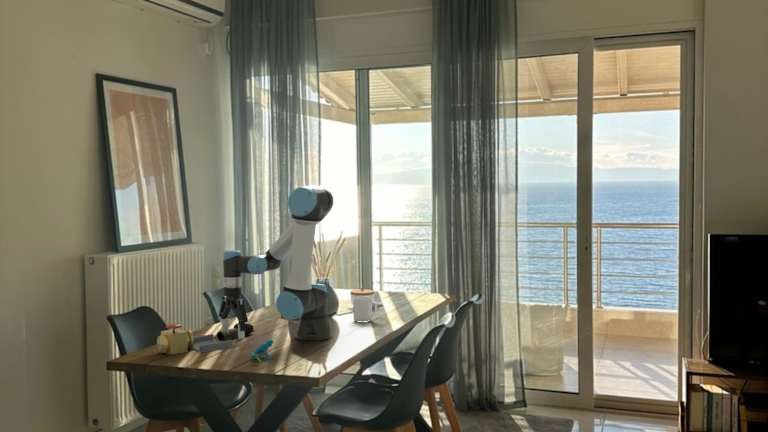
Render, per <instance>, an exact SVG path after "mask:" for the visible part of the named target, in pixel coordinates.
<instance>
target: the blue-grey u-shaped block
mask: <svg viewBox="0 0 768 432" xmlns="http://www.w3.org/2000/svg"><path fill="white" fill-rule="evenodd" d="M228 348H234V345H233V339H230V340H227V341H219V340H218V339H215V338H214V333H213V334H212V333H210V334H205V335H199V336H194V347H193V348H192V349H193V351H195V350H196V352H198V351H199V353H202V352H203V353H208V352H212V351H217V350H219V351H220V350H222V349H223V350H225V349H228ZM192 349H191V350H192Z"/></svg>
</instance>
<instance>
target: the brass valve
mask: <svg viewBox="0 0 768 432" xmlns="http://www.w3.org/2000/svg"><path fill="white" fill-rule="evenodd" d="M165 328H166V329H168V330H161V331H160V335H158V336H157V338H156V339H157V340H156V347H157V350H158V351H159V353H161V354H166V353H167V354H166V355H169V354H170V355H169V356H173V355H172V354H175V355H179V354H178V353H181V354H184V353H183V352H186V353H188V352H189V350H192V348H193V347H194V337H195V335H194V333H193V331H192V330H191V329H185V330H183V329H180V328H183V324H182V323H179V322H178V323H177V322H176V323H168V324H165Z"/></svg>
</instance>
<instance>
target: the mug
mask: <svg viewBox="0 0 768 432" xmlns="http://www.w3.org/2000/svg"><path fill="white" fill-rule="evenodd" d="M373 304H374V313H373ZM352 306H353V320H354V321H355V322H356V321H368V320H371V319H372V320H373V317H375V316H376V315H377V313H378V312H377V311H378V302H376V301H375V300H373V302H372V297H366V296H360V297H354V298H353V304H352ZM372 320H371V321H372Z"/></svg>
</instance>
